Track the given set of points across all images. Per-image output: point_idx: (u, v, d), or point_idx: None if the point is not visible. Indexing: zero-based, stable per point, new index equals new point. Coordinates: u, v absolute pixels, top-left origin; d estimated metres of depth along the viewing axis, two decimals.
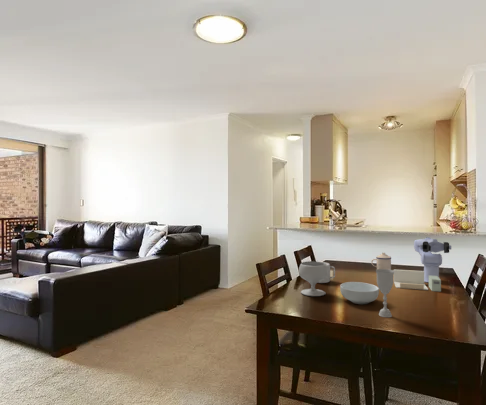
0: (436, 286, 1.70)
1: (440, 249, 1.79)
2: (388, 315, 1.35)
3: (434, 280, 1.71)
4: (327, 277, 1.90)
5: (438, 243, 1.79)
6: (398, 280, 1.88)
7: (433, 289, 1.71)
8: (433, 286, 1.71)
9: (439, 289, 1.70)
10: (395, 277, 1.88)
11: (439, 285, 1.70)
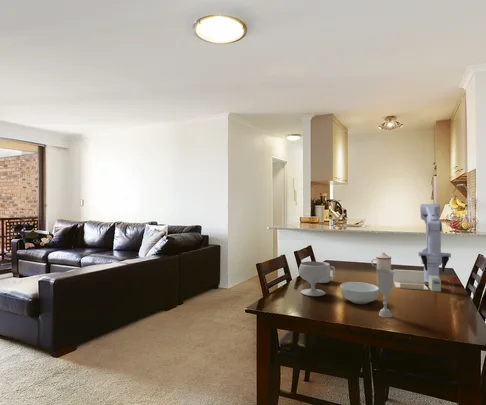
0: (436, 286, 1.70)
1: None
2: (388, 315, 1.35)
3: (434, 280, 1.71)
4: (327, 277, 1.90)
5: (438, 255, 1.72)
6: (398, 280, 1.88)
7: (433, 289, 1.71)
8: (433, 286, 1.71)
9: (439, 289, 1.70)
10: (395, 277, 1.88)
11: (439, 285, 1.70)
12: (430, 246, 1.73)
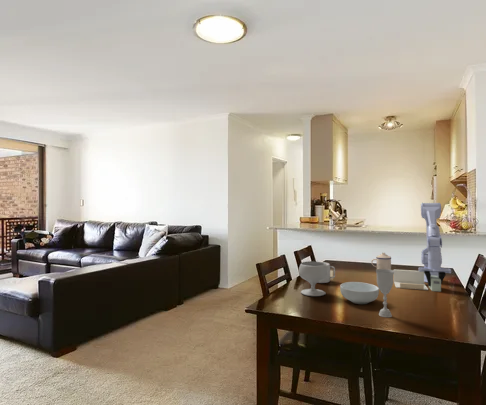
0: (436, 286, 1.70)
1: None
2: (388, 315, 1.35)
3: (434, 280, 1.71)
4: (327, 277, 1.90)
5: (438, 270, 1.72)
6: (398, 280, 1.88)
7: (433, 289, 1.71)
8: (433, 286, 1.71)
9: (439, 289, 1.70)
10: (395, 277, 1.88)
11: (439, 285, 1.70)
12: (430, 262, 1.73)
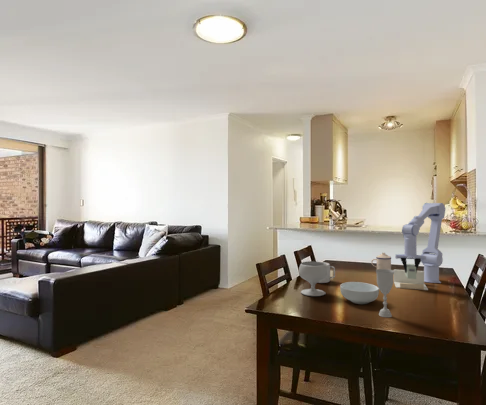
0: (411, 273, 1.75)
1: None
2: (388, 315, 1.35)
3: (410, 268, 1.75)
4: (327, 277, 1.90)
5: None
6: (398, 280, 1.88)
7: (409, 276, 1.75)
8: (409, 273, 1.75)
9: (414, 276, 1.74)
10: (395, 277, 1.88)
11: (414, 272, 1.74)
12: (406, 249, 1.78)
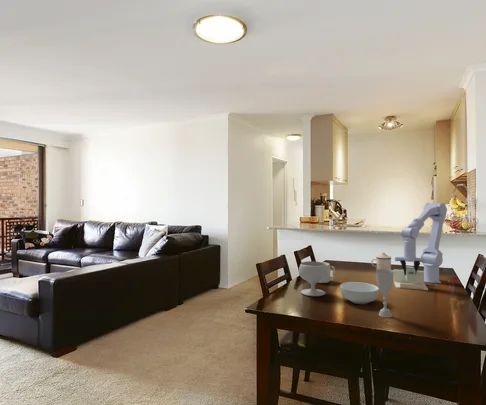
0: (411, 276, 1.77)
1: None
2: (388, 315, 1.35)
3: (409, 270, 1.77)
4: (327, 277, 1.90)
5: None
6: (398, 280, 1.88)
7: (408, 279, 1.78)
8: (408, 276, 1.78)
9: (414, 279, 1.77)
10: (395, 277, 1.88)
11: (414, 275, 1.77)
12: (405, 251, 1.81)
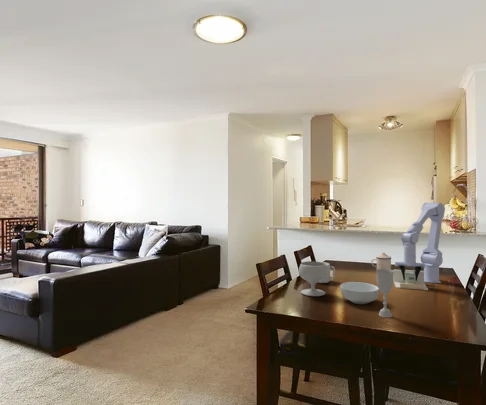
0: (411, 282, 1.77)
1: None
2: (388, 315, 1.35)
3: (409, 276, 1.77)
4: (327, 277, 1.90)
5: None
6: (398, 280, 1.88)
7: None
8: (408, 282, 1.78)
9: None
10: (395, 277, 1.88)
11: (414, 281, 1.77)
12: (405, 256, 1.81)
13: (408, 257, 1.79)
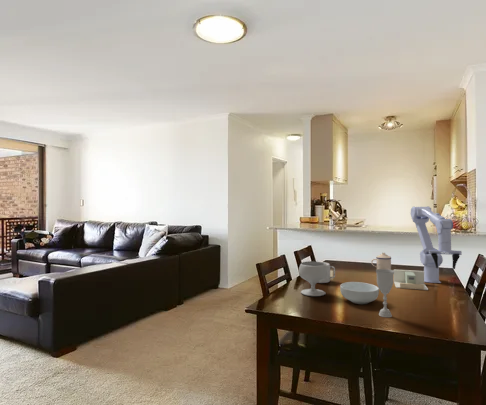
0: (411, 282, 1.77)
1: None
2: (388, 315, 1.35)
3: (409, 276, 1.77)
4: (327, 277, 1.90)
5: (449, 252, 1.74)
6: (398, 280, 1.88)
7: None
8: (408, 282, 1.78)
9: None
10: (395, 277, 1.88)
11: (414, 281, 1.77)
12: (440, 244, 1.76)
13: (443, 244, 1.74)
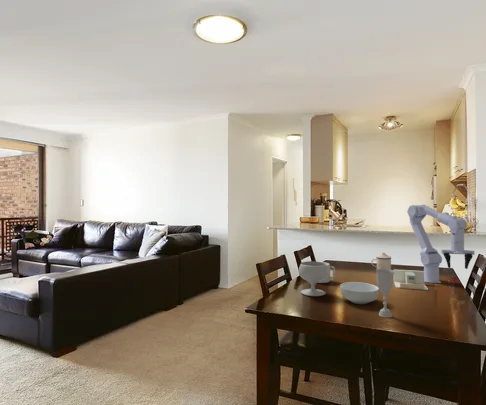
0: (411, 282, 1.77)
1: None
2: (388, 315, 1.35)
3: (409, 276, 1.77)
4: (327, 277, 1.90)
5: (462, 252, 1.73)
6: (398, 280, 1.88)
7: None
8: (408, 282, 1.78)
9: None
10: (395, 277, 1.88)
11: (414, 281, 1.77)
12: (453, 243, 1.74)
13: (456, 244, 1.73)
